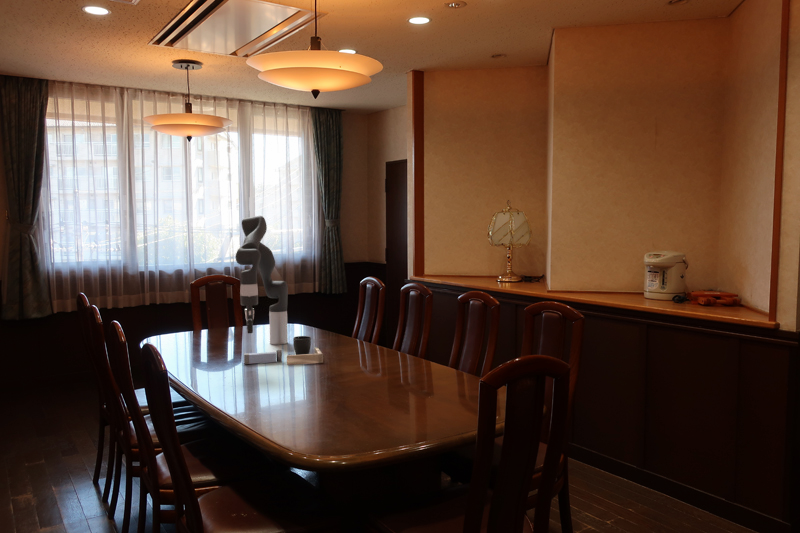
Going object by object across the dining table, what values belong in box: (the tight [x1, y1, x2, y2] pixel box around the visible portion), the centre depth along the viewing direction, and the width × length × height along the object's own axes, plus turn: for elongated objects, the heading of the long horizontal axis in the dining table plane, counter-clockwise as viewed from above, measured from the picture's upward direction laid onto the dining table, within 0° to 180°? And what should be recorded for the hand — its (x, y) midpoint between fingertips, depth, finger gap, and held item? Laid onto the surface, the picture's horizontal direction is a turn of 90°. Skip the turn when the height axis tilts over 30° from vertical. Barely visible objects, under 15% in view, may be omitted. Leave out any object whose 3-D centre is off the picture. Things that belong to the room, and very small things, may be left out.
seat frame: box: [286, 347, 324, 366], centre depth 277 cm, size 15×16×4 cm
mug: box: [292, 335, 312, 355], centre depth 285 cm, size 8×12×10 cm
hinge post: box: [275, 349, 283, 363], centre depth 274 cm, size 2×2×5 cm
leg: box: [243, 351, 277, 365], centre depth 272 cm, size 14×3×4 cm, turn 106°
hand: (249, 331), depth 264 cm, fingers open, 6 cm apart
